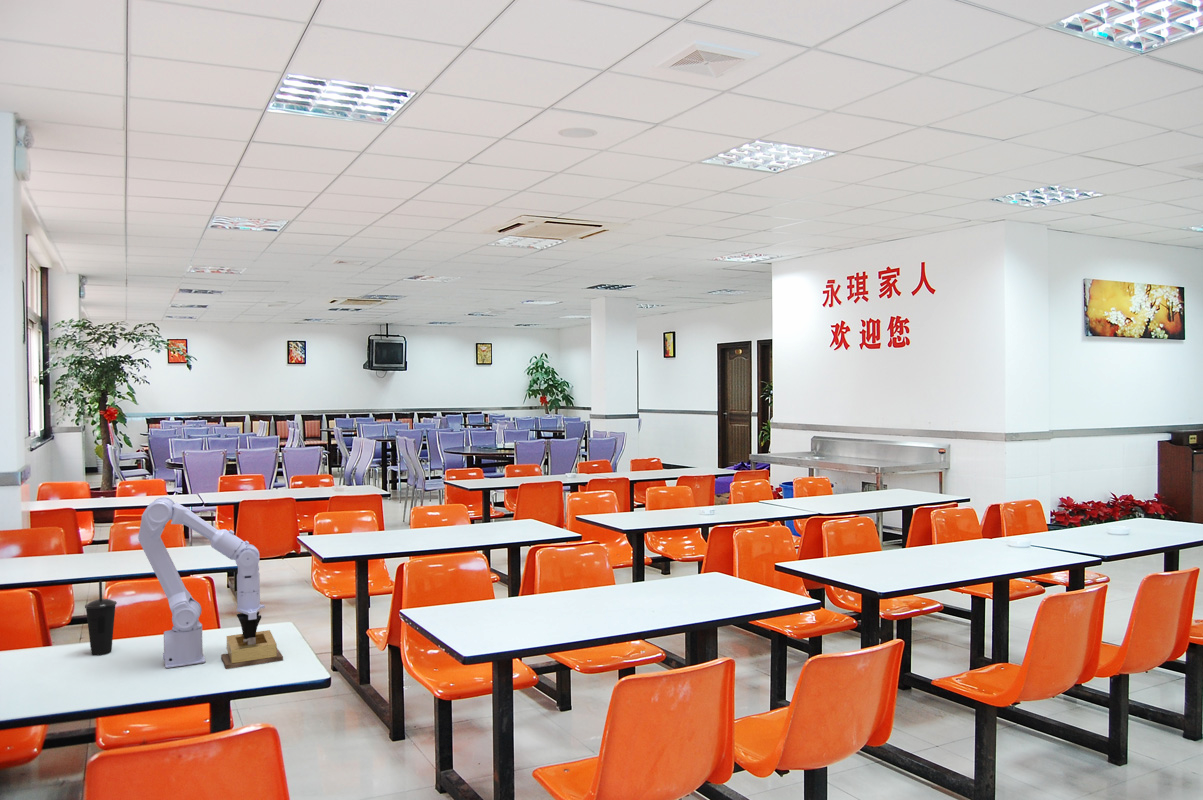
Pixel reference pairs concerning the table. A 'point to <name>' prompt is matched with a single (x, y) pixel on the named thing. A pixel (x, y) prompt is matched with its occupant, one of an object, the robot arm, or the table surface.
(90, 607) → the drinking cup
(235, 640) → the tan slotted block
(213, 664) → the table surface
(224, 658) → the board
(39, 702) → the table surface
